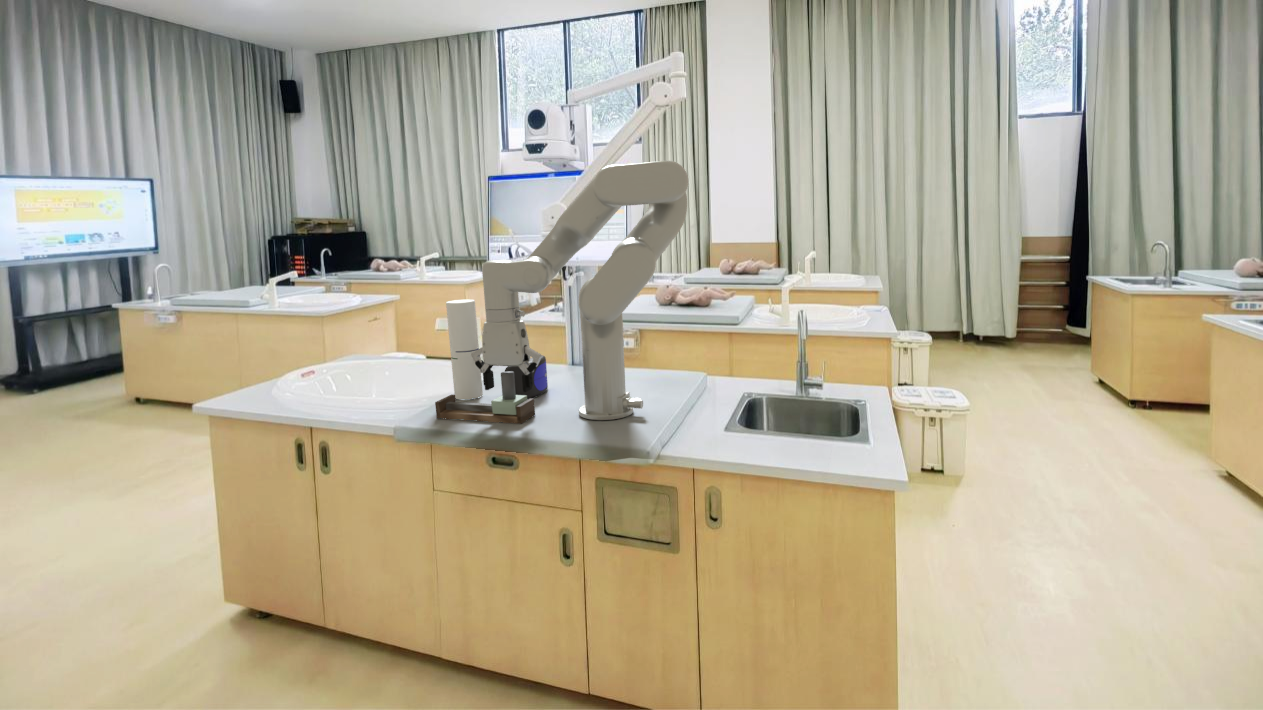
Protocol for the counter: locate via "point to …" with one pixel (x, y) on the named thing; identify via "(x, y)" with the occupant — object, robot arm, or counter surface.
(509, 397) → the carriage
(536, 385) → the black curved block
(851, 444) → the counter surface
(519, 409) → the board
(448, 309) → the cylindrical container
